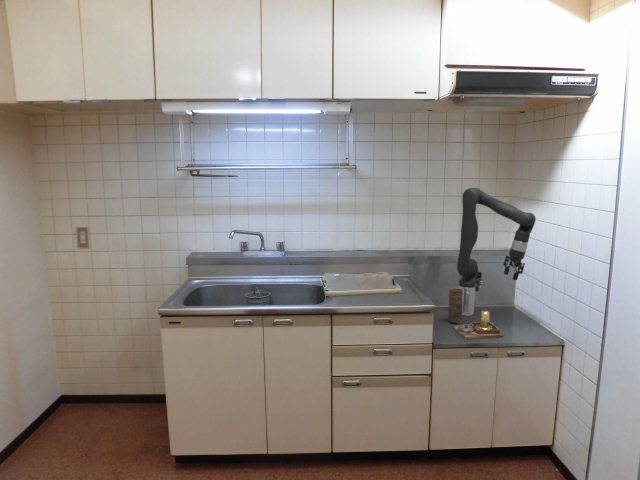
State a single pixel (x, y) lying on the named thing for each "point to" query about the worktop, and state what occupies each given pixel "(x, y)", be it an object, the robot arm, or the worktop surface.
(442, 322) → the worktop surface
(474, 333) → the gear board
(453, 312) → the candle
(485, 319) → the gear shaft
